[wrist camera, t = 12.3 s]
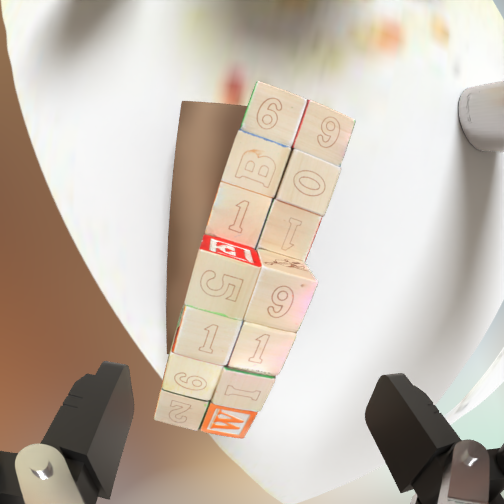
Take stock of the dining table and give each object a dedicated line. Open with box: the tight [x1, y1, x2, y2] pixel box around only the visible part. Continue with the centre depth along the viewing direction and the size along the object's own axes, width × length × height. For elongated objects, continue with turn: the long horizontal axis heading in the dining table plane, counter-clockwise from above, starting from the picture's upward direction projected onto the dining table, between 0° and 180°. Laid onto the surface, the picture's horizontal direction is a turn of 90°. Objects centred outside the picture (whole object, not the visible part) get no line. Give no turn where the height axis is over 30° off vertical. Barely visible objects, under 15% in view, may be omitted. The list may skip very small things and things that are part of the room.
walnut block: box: [166, 101, 247, 354], centre depth 29 cm, size 12×24×5 cm, turn 173°
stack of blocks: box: [154, 81, 355, 438], centre depth 20 cm, size 21×6×12 cm, turn 161°
